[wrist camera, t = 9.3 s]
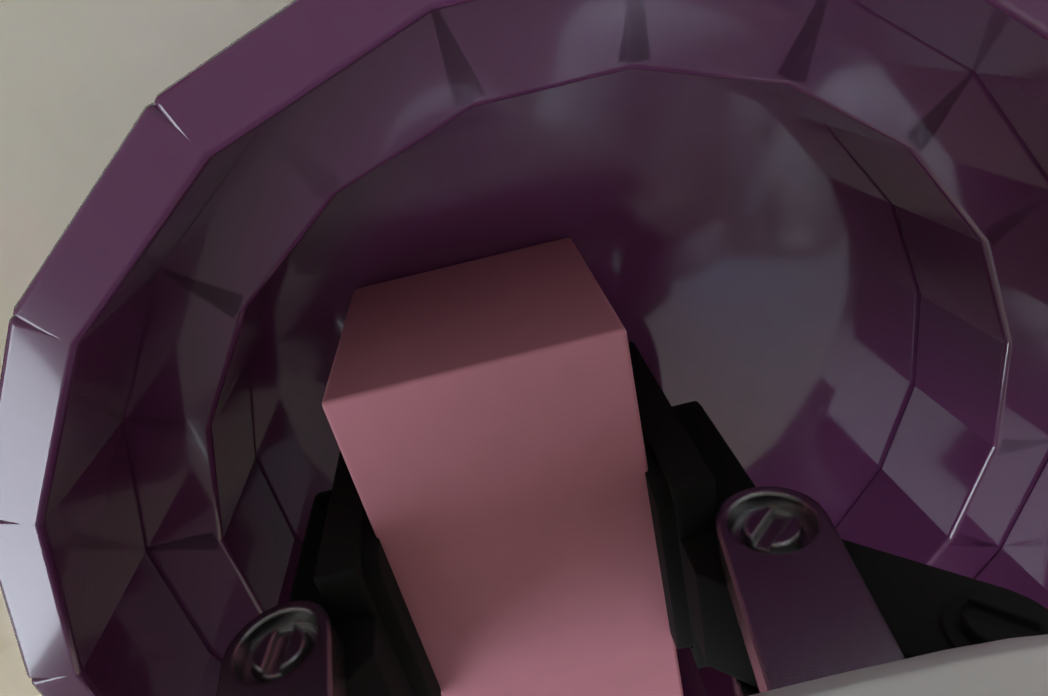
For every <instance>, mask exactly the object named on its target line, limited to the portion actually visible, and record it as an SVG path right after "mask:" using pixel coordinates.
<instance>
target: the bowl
mask: <svg viewBox="0 0 1048 696" xmlns="http://www.w3.org/2000/svg"><path fill="white" fill-rule="evenodd" d="M564 238H571V239H572V241H573V243H574V244H575V246H576V248H577V249H578V251H579V253H580V254H581V256H582V258H583V259H584V261H585V263H586V264H587V266H588V268H589V269H590V271H591V273H592V274H593V276H594V278H595V279H596V281H597V283H598V284H599V286H600V288H601V289H602V291H603V293H604V294H605V296H606V298H607V299H608V301H609V303H610V304H611V306H612V308H613V309H614V311H615V313H616V314H617V316H618V318H619V319H620V321H621V323H622V324H623V326H624V328H625V329H626V331H627V338H628V343H629V342H633V343H634V344H635V346H636V347H637V349H638V351H639V352H640V354H641V356H642V357H643V359H644V361H645V362H646V364H647V366H648V367H649V369H650V371H651V372H652V374H653V376H654V377H655V379H656V381H657V383H658V384H659V386H660V388H661V389H662V391H663V393H664V394H665V396H666V398H667V399H668V401H669V403H670V404H671V406H675V405H680V404H684V403H688V402H692V401H697V402H699V404H700V405H701V406H702V407H703V409H704V410H705V412H706V413H707V415H708V416H709V418H710V419H711V421H712V422H713V424H714V425H715V427H716V428H717V430H718V431H719V433H720V434H721V436H722V437H723V439H724V440H725V442H726V443H727V445H728V446H729V448H730V449H731V450H732V452H733V453H734V455H735V456H736V458H737V459H738V461H739V462H740V464H741V465H742V467H743V468H744V470H745V471H746V473H747V474H748V476H749V477H750V479H751V480H752V482H753V483H754V485H755V486H756V487H761V486H777V487H783V488H789V489H793V490H795V491H798V492H801V493H803V494H806V495H808V496H809V497H810V498H812V499H813V500H815V501H816V502H818V503H819V504H820V505H821V506H822V508H823V509H824V510H825V511H826V513H827V514H828V515H829V517H830V519H831V521H832V523H833V525H834V527H835V528H836V530H837V532H838V534H839V536H840V538H841V539H843V540H847V541H850V542H853V543H857V544H860V545H863V546H867V547H870V548H873V549H877V550H880V551H883V552H886V553H890V554H893V555H896V556H900V557H903V558H906V559H910V560H913V561H916V562H920V563H923V564H926V565H929V566H933V567H936V568H939V569H943V570H946V571H949V572H953V573H956V574H959V575H963V576H966V577H969V578H972V579H976V580H979V581H982V582H986V583H989V584H992V585H996V586H999V587H1002V588H1006V589H1009V590H1011V591H1014V592H1016V593H1019V594H1021V595H1024V596H1026V597H1029V598H1031V599H1032V600H1034V601H1036V602H1037V603H1039V604H1040V605H1042V606H1043V607H1045V608H1047V609H1048V0H294V1H292V2H291V3H290V4H288V5H287V6H285V7H284V8H282V9H281V10H279V11H278V12H276V13H275V14H274V15H272V16H271V17H269V18H268V19H266V20H265V21H263V22H262V23H260V24H259V25H258V26H256V27H255V28H253V29H252V30H250V31H249V32H247V33H246V34H245V35H243V36H242V37H240V38H239V39H237V40H236V41H234V42H233V43H231V44H230V45H229V46H227V47H226V48H224V49H223V50H221V51H220V52H218V53H217V54H215V55H214V56H213V57H211V58H210V59H208V60H207V61H205V62H204V63H202V64H201V65H199V66H198V67H197V68H195V69H194V70H192V71H191V72H189V73H188V74H186V75H185V76H183V77H182V78H181V79H179V80H178V81H176V82H175V83H173V84H172V85H170V86H169V87H167V88H166V89H165V90H163V91H162V92H160V93H159V94H158V95H157V97H156V98H155V101H154V103H151V104H149V105H148V106H146V107H145V108H144V110H143V111H142V113H141V114H140V116H139V117H138V119H137V121H136V122H135V124H134V125H133V127H132V128H131V130H130V131H129V133H128V134H127V136H126V137H125V139H124V140H123V142H122V143H121V145H120V146H119V148H118V150H117V151H116V153H115V154H114V156H113V157H112V159H111V160H110V162H109V163H108V165H107V166H106V168H105V169H104V171H103V172H102V174H101V175H100V177H99V179H98V180H97V182H96V183H95V185H94V186H93V188H92V189H91V191H90V192H89V194H88V195H87V197H86V198H85V200H84V201H83V203H82V205H81V206H80V208H79V209H78V211H77V212H76V214H75V215H74V217H73V218H72V220H71V221H70V223H69V224H68V226H67V227H66V229H65V230H64V232H63V234H62V235H61V237H60V238H59V240H58V241H57V243H56V244H55V246H54V247H53V249H52V250H51V252H50V253H49V255H48V256H47V258H46V260H45V261H44V263H43V264H42V266H41V267H40V269H39V270H38V272H37V273H36V275H35V276H34V278H33V279H32V281H31V282H30V284H29V285H28V287H27V289H26V290H25V292H24V293H23V295H22V296H21V298H20V299H19V301H18V302H17V304H16V305H15V307H14V312H13V316H12V318H11V319H10V320H9V326H8V333H7V339H6V346H5V353H4V359H3V366H2V373H1V379H0V587H1V590H2V594H3V597H4V600H5V603H6V607H7V610H8V613H9V616H10V620H11V623H12V626H13V630H14V633H15V636H16V639H17V643H18V646H19V649H20V652H21V656H22V659H23V662H24V665H25V669H26V672H27V675H28V677H30V678H32V684H33V685H34V686H35V687H36V689H37V690H38V691H39V692H40V693H41V695H42V696H216V693H217V687H218V681H219V675H220V669H221V663H222V661H223V658H224V655H225V652H226V649H227V648H228V646H229V645H230V643H231V642H232V640H233V639H234V637H235V636H236V634H237V633H238V632H239V631H240V630H241V629H242V628H243V627H244V626H245V625H246V624H247V623H248V622H250V621H251V620H253V619H254V618H255V617H257V616H258V615H260V614H261V613H262V612H264V611H266V610H268V609H271V608H273V607H275V606H277V605H279V604H283V603H287V602H289V598H290V594H291V590H292V586H293V582H294V578H295V574H296V570H297V566H298V562H299V557H300V553H301V549H302V545H303V541H304V537H305V533H306V529H307V525H308V521H309V517H310V513H311V509H312V504H313V501H314V498H315V496H316V495H317V494H318V493H320V492H324V491H328V490H332V486H333V482H334V477H335V472H336V467H337V463H338V458H339V453H340V448H339V446H338V443H337V441H336V439H335V436H334V434H333V431H332V429H331V426H330V424H329V422H328V419H327V417H326V414H325V412H324V409H323V407H322V400H323V397H324V393H325V390H326V386H327V383H328V379H329V376H330V372H331V369H332V365H333V362H334V358H335V355H336V351H337V348H338V344H339V341H340V337H341V334H342V330H343V327H344V323H345V320H346V316H347V313H348V309H349V306H350V302H351V299H352V295H353V292H354V290H355V289H357V288H361V287H366V286H370V285H374V284H378V283H382V282H386V281H390V280H394V279H399V278H403V277H407V276H411V275H415V274H419V273H423V272H427V271H432V270H436V269H440V268H444V267H448V266H452V265H456V264H461V263H465V262H469V261H473V260H477V259H481V258H485V257H489V256H494V255H498V254H502V253H506V252H510V251H514V250H518V249H522V248H527V247H531V246H535V245H539V244H543V243H547V242H551V241H555V240H560V239H564ZM676 650H677V657H678V663H679V670H680V676H681V682H682V689H683V695H684V696H735V692H734V688H733V684H732V676H730V675H728V674H726V673H723V672H721V671H719V670H717V669H715V668H713V667H711V666H708V667H704V668H700V669H698V667H697V665H696V662H695V660H694V657H693V655H692V652H691V650H690V647H686V648H681V649H677V648H676ZM441 696H442V695H441Z"/></svg>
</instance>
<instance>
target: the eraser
mask: <svg viewBox="0 0 1048 696" xmlns="http://www.w3.org/2000/svg"><path fill="white" fill-rule="evenodd" d="M322 407H323V409H324V412H325V414H326V417H327V419H328V422H329V424H330V426H331V429H332V431H333V434H334V436H335V439H336V441H337V443H338V446H339V448H340V451H341V453H342V455H343V458H344V460H345V463H346V465H347V468H348V470H349V472H350V475H351V477H352V480H353V482H354V485H355V487H356V489H357V492H358V494H359V497H360V499H361V502H362V504H363V506H364V509H365V511H366V514H367V516H368V518H369V521H370V523H371V526H372V528H373V531H374V533H375V535H376V537H377V538H379V540H380V542H381V545H382V547H383V549H384V552H385V554H386V557H387V559H388V562H389V564H390V567H391V569H392V571H393V574H394V576H395V579H396V581H397V584H398V586H399V588H400V591H401V593H402V596H403V598H404V601H405V603H406V606H407V608H408V610H409V613H410V615H411V618H412V620H413V623H414V625H415V627H416V630H417V632H418V635H419V637H420V640H421V642H422V644H423V647H424V649H425V652H426V654H427V657H428V659H429V662H430V664H431V666H432V669H433V671H434V674H435V676H436V679H437V681H438V683H439V686H440V688H441V695H442V696H684V695H683V689H682V682H681V676H680V670H679V663H678V657H677V650H676V646H675V643H674V641H673V638H672V636H671V633H670V627H669V621H668V615H667V608H666V602H665V596H664V590H663V583H662V577H661V571H660V565H659V558H658V552H657V546H656V540H655V533H654V527H653V521H652V514H651V508H650V502H649V496H648V489H647V483H646V477H645V472H647V471H648V465H647V459H646V452H645V446H644V440H643V433H642V427H641V421H640V414H639V408H638V401H637V395H636V389H635V382H634V376H633V369H632V363H631V357H630V350H629V344H628V338H627V331H626V329H625V328H624V326H623V324H622V323H621V321H620V319H619V318H618V316H617V314H616V313H615V311H614V309H613V308H612V306H611V304H610V303H609V301H608V299H607V298H606V296H605V294H604V293H603V291H602V289H601V288H600V286H599V284H598V283H597V281H596V279H595V278H594V276H593V274H592V273H591V271H590V269H589V268H588V266H587V264H586V263H585V261H584V259H583V258H582V256H581V254H580V253H579V251H578V249H577V248H576V246H575V244H574V243H573V241H572V239H571V238H564V239H560V240H555V241H551V242H547V243H543V244H539V245H535V246H531V247H527V248H522V249H518V250H514V251H510V252H506V253H502V254H498V255H494V256H489V257H485V258H481V259H477V260H473V261H469V262H465V263H461V264H456V265H452V266H448V267H444V268H440V269H436V270H432V271H427V272H423V273H419V274H415V275H411V276H407V277H403V278H399V279H394V280H390V281H386V282H382V283H378V284H374V285H370V286H366V287H361V288H357V289H355V290H354V292H353V295H352V299H351V302H350V306H349V309H348V313H347V316H346V320H345V323H344V327H343V330H342V334H341V337H340V341H339V344H338V348H337V351H336V355H335V358H334V362H333V365H332V369H331V372H330V376H329V379H328V383H327V386H326V390H325V393H324V397H323V400H322Z"/></svg>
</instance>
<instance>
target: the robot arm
mask: <svg viewBox="0 0 1048 696" xmlns="http://www.w3.org/2000/svg"><path fill="white" fill-rule="evenodd" d="M628 344H629V350H630V357H631V363H632V369H633V376H634V382H635V389H636V395H637V401H638V408H639V414H640V421H641V427H642V433H643V440H644V446H645V452H646V459H647V465H648V471H647V472H645V477H646V483H647V489H648V496H649V502H650V508H651V514H652V521H653V527H654V533H655V540H656V546H657V552H658V558H659V565H660V571H661V577H662V583H663V590H664V596H665V602H666V608H667V615H668V621H669V627H670V633H671V636H672V638H673V641H674V643H675V646H676V648H677V649H681V648H686V647H690V650H691V652H692V655H693V657H694V660H695V662H696V665H697V667H698V669H700V668H704V667H708V666H711V667H713V668H715V669H717V670H719V671H721V672H723V673H726V674H728V675H730V676H732V684H733V688H734V692H735V696H1048V609H1047V608H1045V607H1043V606H1042V605H1040V604H1039V603H1037V602H1036V601H1034V600H1032V599H1031V598H1029V597H1026V596H1024V595H1021V594H1019V593H1016V592H1014V591H1011V590H1009V589H1006V588H1002V587H999V586H996V585H992V584H989V583H986V582H982V581H979V580H976V579H972V578H969V577H966V576H963V575H959V574H956V573H953V572H949V571H946V570H943V569H939V568H936V567H933V566H929V565H926V564H923V563H920V562H916V561H913V560H910V559H906V558H903V557H900V556H896V555H893V554H890V553H886V552H883V551H880V550H877V549H873V548H870V547H867V546H863V545H860V544H857V543H853V542H850V541H847V540H843V539H841V538H840V536H839V534H838V532H837V530H836V528H835V527H834V525H833V523H832V521H831V519H830V517H829V515H828V514H827V513H826V511H825V510H824V509H823V508H822V506H821V505H820V504H819V503H818V502H816V501H815V500H813V499H812V498H810V497H809V496H808V495H806V494H803V493H801V492H798V491H795V490H793V489H789V488H783V487H777V486H761V487H756V486H755V485H754V483H753V482H752V480H751V479H750V477H749V476H748V474H747V473H746V471H745V470H744V468H743V467H742V465H741V464H740V462H739V461H738V459H737V458H736V456H735V455H734V453H733V452H732V450H731V449H730V448H729V446H728V445H727V443H726V442H725V440H724V439H723V437H722V436H721V434H720V433H719V431H718V430H717V428H716V427H715V425H714V424H713V422H712V421H711V419H710V418H709V416H708V415H707V413H706V412H705V410H704V409H703V407H702V406H701V405H700V404H699V402H697V401H692V402H688V403H684V404H680V405H675V406H671V404H670V403H669V401H668V399H667V398H666V396H665V394H664V393H663V391H662V389H661V388H660V386H659V384H658V383H657V381H656V379H655V377H654V376H653V374H652V372H651V371H650V369H649V367H648V366H647V364H646V362H645V361H644V359H643V357H642V356H641V354H640V352H639V351H638V349H637V347H636V346H635V344H634V343H633V342H629V343H628ZM216 696H441V688H440V686H439V683H438V681H437V679H436V676H435V674H434V671H433V669H432V666H431V664H430V662H429V659H428V657H427V654H426V652H425V649H424V647H423V644H422V642H421V640H420V637H419V635H418V632H417V630H416V627H415V625H414V623H413V620H412V618H411V615H410V613H409V610H408V608H407V606H406V603H405V601H404V598H403V596H402V593H401V591H400V588H399V586H398V584H397V581H396V579H395V576H394V574H393V571H392V569H391V567H390V564H389V562H388V559H387V557H386V554H385V552H384V549H383V547H382V545H381V542H380V540H379V538H377V537H376V535H375V533H374V531H373V528H372V526H371V523H370V521H369V518H368V516H367V514H366V511H365V509H364V506H363V504H362V502H361V499H360V497H359V494H358V492H357V489H356V487H355V485H354V482H353V480H352V477H351V475H350V472H349V470H348V468H347V465H346V463H345V460H344V458H343V455H342V453H341V451H340V453H339V458H338V463H337V467H336V472H335V477H334V482H333V486H332V490H328V491H324V492H320V493H318V494H317V495H316V496H315V498H314V501H313V504H312V509H311V513H310V517H309V521H308V525H307V529H306V533H305V537H304V541H303V545H302V549H301V553H300V557H299V562H298V566H297V570H296V574H295V578H294V582H293V586H292V590H291V594H290V598H289V602H287V603H283V604H279V605H277V606H275V607H273V608H271V609H268V610H266V611H264V612H262V613H261V614H260V615H258V616H257V617H255V618H254V619H253V620H251V621H250V622H248V623H247V624H246V625H245V626H244V627H243V628H242V629H241V630H240V631H239V632H238V633H237V634H236V636H235V637H234V639H233V640H232V642H231V643H230V645H229V646H228V648H227V649H226V652H225V655H224V658H223V661H222V663H221V669H220V675H219V681H218V687H217V693H216Z"/></svg>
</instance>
